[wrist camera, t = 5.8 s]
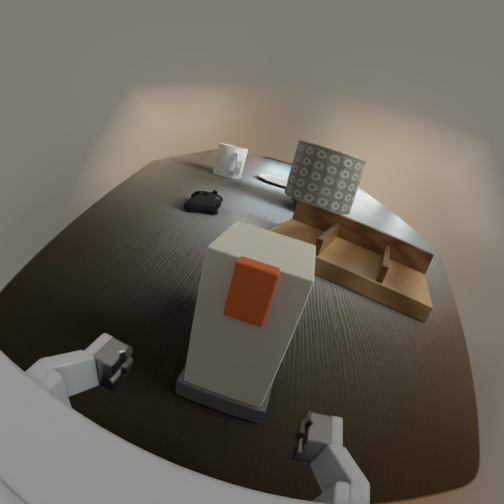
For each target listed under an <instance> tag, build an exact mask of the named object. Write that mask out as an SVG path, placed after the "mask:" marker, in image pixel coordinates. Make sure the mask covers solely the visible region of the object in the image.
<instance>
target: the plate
mask: <svg viewBox="0 0 504 504" xmlns="http://www.w3.org/2000/svg"><path fill="white" fill-rule="evenodd" d="M258 177H259V178H261V179H262V180H264V181H266V182H268V183H271V184H273V185H276V186H280V187H283V188H286V185H287V181H288V179H285V178H281V177H277V176H273V175H267V174H259V175H258Z"/></svg>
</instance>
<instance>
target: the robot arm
mask: <svg viewBox="0 0 504 504" xmlns="http://www.w3.org/2000/svg"><path fill="white" fill-rule="evenodd" d="M132 353H133V348H132V347H131V346H129V345H127V344H125V343H123V342H121V341H120V340H118V339H116V338H114V337H112V336H110V335H108V334H106V333H103V334H102V335H100V336H99V337H98V338H97V339H96V340H95V341H94V342H93V343H92V344H91V345H90V346H89V347H88V348H86V349H85V350H84V351H83V350H78V351H74V352H69V353H64V354H60V355H55V356H50V357H45V358H40V359H39V360H38V361H37V362H36V363H35V364H33V365H32V366H31V367H30V368H29V369H28V370H27V371H26V372H24V371H23V370H22V369H20V368H19V367H18V366H17V365H16V364H15V363H14V362H13V361H11V360H10V359H9V358H8V357H7V356H6V355H5V354H4V353H3V352H2V351H1V350H0V504H370V483H369V482H368V480H367V479H366V477H365V476H364V474H363V473H362V471H361V470H360V468H359V467H358V465H357V464H356V462H355V461H354V459H353V458H352V456H351V455H350V453H349V452H348V450H347V449H346V447H343V419H342V418H340V417H335V416H330V415H326V414H322V413H317V412H313V411H309V412H308V413H307V414H306V418H305V420H304V421H302V422H301V424H300V425H299V427H298V430H297V433H296V438H295V440H296V442H297V444H296V445H295V447H294V450H293V456H292V459H293V460H298V461H302V462H306V463H310V466H311V468H312V471H313V473H314V475H315V477H316V479H317V482H318V484H319V486H320V488H321V491H322V494H321V495H320V496H318V497H317V498H316V499H314V500H313V501H306V500H300V499H294V498H288V497H283V496H278V495H273V494H269V493H264V492H260V491H256V490H252V489H248V488H244V487H241V486H237V485H234V484H230V483H227V482H224V481H221V480H218V479H215V478H212V477H209V476H206V475H203V474H200V473H197V472H195V471H192V470H189V469H187V468H184V467H182V466H179V465H177V464H174V463H172V462H170V461H167V460H165V459H163V458H160V457H158V456H156V455H154V454H152V453H150V452H147V451H145V450H143V449H141V448H139V447H137V446H135V445H133V444H131V443H129V442H127V441H126V440H124V439H122V438H120V437H118V436H116V435H115V434H113V433H111V432H109V431H107V430H106V429H104V428H102V427H101V426H99V425H97V424H96V423H94V422H92V421H91V420H89V419H88V418H86V417H84V416H83V415H81V414H80V413H78V412H77V411H75V410H74V409H72V408H71V403H70V401H69V398H68V397H69V396H72V395H75V394H77V393H80V392H83V391H85V390H88V389H90V388H93V387H96V386H98V385H99V384H100V385H102V386H104V387H106V388H107V389H109V390H111V391H113V392H115V391H116V390H117V388H118V387H119V386H120V385H121V383H122V381H121V379H122V378H125V377H127V376H128V375H129V373H130V371H131V369H132V366H133V359H132V357H131V355H132Z"/></svg>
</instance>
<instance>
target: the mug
mask: <svg viewBox="0 0 504 504" xmlns="http://www.w3.org/2000/svg"><path fill="white" fill-rule="evenodd" d="M247 151H248V149H245V148H242V147H238V146H233V145H228V144H222V143H220V144H219V147H218V152H217V156H216V160H215V165H214V169H213V173H214V174H216V175H219V176H222V177H227V178H232V179H241V175H242V171H243V167H244V163H245V159H246V155H247Z"/></svg>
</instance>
